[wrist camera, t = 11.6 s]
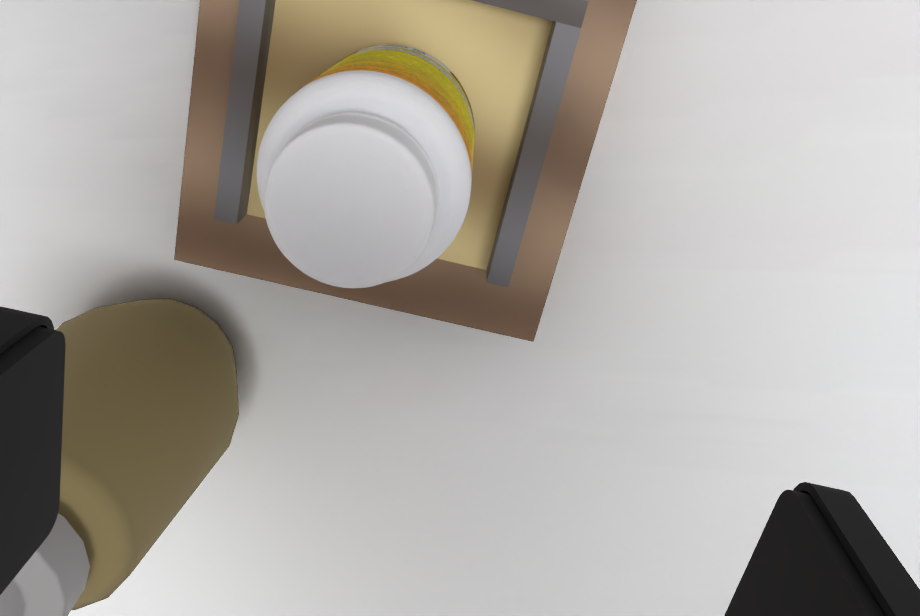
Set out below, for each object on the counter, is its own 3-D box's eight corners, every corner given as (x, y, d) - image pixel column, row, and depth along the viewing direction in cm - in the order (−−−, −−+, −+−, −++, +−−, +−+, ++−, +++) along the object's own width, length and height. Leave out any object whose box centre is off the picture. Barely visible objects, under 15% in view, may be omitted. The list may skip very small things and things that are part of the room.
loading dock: (529, 311, 34) (535, 359, 29) (200, 235, 33) (159, 273, 29) (633, -41, 28) (658, -43, 24) (243, -143, 27) (199, -164, 23)
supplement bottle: (330, 23, 26) (244, 55, 17) (493, 65, 27) (498, 119, 17) (302, 183, 28) (213, 291, 19) (453, 220, 29) (439, 344, 19)
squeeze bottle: (294, 332, 34) (114, 667, 18) (216, 464, 37) (-2, 862, 20) (120, 236, 33) (-254, 506, 16) (52, 382, 36) (-324, 739, 19)
